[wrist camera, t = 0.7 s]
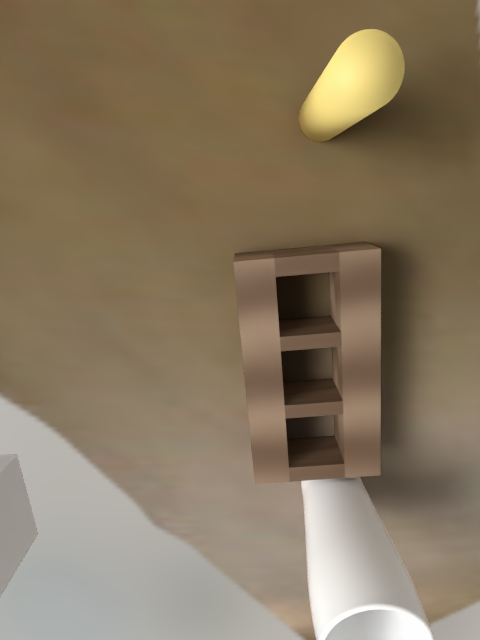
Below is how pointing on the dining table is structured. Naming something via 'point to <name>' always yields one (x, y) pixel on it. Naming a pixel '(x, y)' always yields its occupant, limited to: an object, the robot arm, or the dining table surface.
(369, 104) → the peg
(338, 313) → the hole block
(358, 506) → the drinking glass
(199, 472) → the dining table surface
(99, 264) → the dining table surface
